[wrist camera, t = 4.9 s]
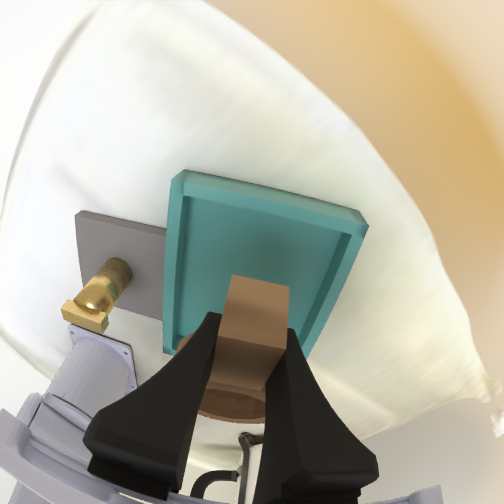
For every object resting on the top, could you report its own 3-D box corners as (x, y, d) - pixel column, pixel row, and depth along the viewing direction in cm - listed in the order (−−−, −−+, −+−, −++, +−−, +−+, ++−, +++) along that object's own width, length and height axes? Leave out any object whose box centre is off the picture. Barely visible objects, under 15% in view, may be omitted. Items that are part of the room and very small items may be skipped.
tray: (293, 360, 25) (294, 380, 23) (170, 333, 25) (163, 352, 23) (358, 211, 18) (368, 225, 16) (184, 169, 17) (171, 179, 15)
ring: (275, 391, 19) (272, 428, 17) (180, 371, 19) (170, 408, 16) (340, 297, 12) (345, 357, 10) (178, 261, 12) (153, 318, 9)
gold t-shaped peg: (137, 288, 21) (104, 342, 16) (103, 278, 21) (66, 327, 16) (136, 262, 20) (98, 314, 15) (100, 253, 20) (58, 299, 15)
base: (168, 313, 24) (164, 321, 23) (90, 290, 23) (84, 296, 22) (172, 230, 20) (168, 236, 19) (81, 210, 19) (74, 215, 18)
